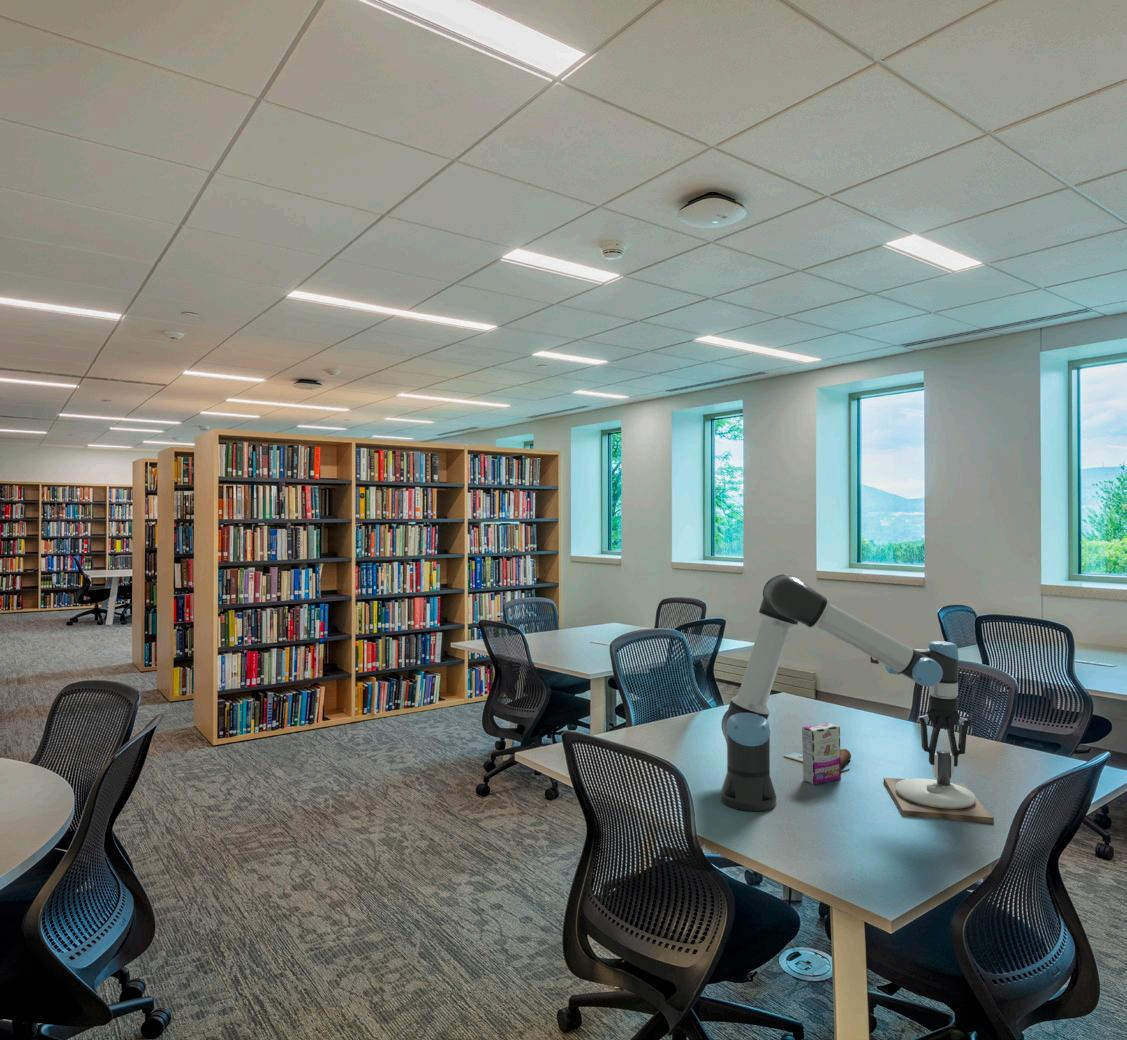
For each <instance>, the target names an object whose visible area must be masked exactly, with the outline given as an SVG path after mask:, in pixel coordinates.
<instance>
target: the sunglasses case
mask: <svg viewBox="0 0 1127 1040" xmlns="http://www.w3.org/2000/svg"><path fill="white" fill-rule="evenodd" d="M840 757H841V758H840V761H841V769H842V768H843V767H844V766H845V765H846V764H847V763H848V762H849V761H850V760H852V759H851V758H852V754H851V752H850V751H849V750H848V749H847V748H840Z"/></svg>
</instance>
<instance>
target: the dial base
mask: <svg viewBox="0 0 1127 1040" xmlns="http://www.w3.org/2000/svg"><path fill="white" fill-rule="evenodd" d="M905 779H906V778H894V777H883V784H884V786H885V788H886V790H887V791H888V792H889V795H890V796H891V798H892V799H893V801H894V804H895V805H896V807H897V809H898V810H899V812H900V814H901V816H903V817H913V818H914V817H915V818H926V819H936V820H937V819H938V820H939V819H940V820H949V821H960V822H974V823H975V822H976V823H983V824H984V823H986V824H994V822H995V821H994V820H995V819H994V817H993V815H992V814H991V813H990V811H988V809H986V807H985V806H984V805H983V804H982V803H981V802H980V800H979V799H978V798H977V797H976V796H975V804H974V805H972V806H970V807H967V808H960V809H946V808H936V807H930V806H926V805H921V804H918V803H915V802H912V801H909V800H907V799H905V798H903V797H901V796H900V795H898V794H897V792H896V783H897V782H899V781H901V780H905ZM950 783H953V784H956V785H959V786H962V787H964V788H966V789H968V790H970V789H969V787H967V786H966V784H965V783H961V782H952V781H950Z"/></svg>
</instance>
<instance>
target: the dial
mask: <svg viewBox="0 0 1127 1040" xmlns="http://www.w3.org/2000/svg"><path fill="white" fill-rule="evenodd" d="M936 753H937V755H938V778H936V779H932V778H922V777H921V778H919V777H918V778H904V779H905V780H901V781H899V782H897V783H896V792H897V794H898V795H900V796H901V797H903V798H905V799H907V800H909V801H912V802H915V803H918V804H921V805H926V806H930V807H936V808H946V809H960V808H967V807H970V806H972V805H974V804H975V797H976V794H975V793H973V792H972V790H970V789H969V788H968V789H969V790H968V789H966V788H964V787H962V786H959V785H956V784H953V783H954V782H952V783H950V782H951V778H950V753H951V752H949V751H946V750H942V749H941V750H936Z"/></svg>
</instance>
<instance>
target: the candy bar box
mask: <svg viewBox="0 0 1127 1040" xmlns="http://www.w3.org/2000/svg"><path fill="white" fill-rule="evenodd" d="M801 730H802V732H801V733H802V738H801V739H802V777H803V778H802V780H803V781H804V782H806V783H809V784H810V785H811V784H812V785H814V786H816V785H820V784H824V783H831V782H834V781H838V780H842V770H841V769H842V768H841V761H840V758H841V757H840V749H841V725H837V724H834V723H831V722H824V723H819V724H815V725H814V724H813V725H807V726H802V728H801Z"/></svg>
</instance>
